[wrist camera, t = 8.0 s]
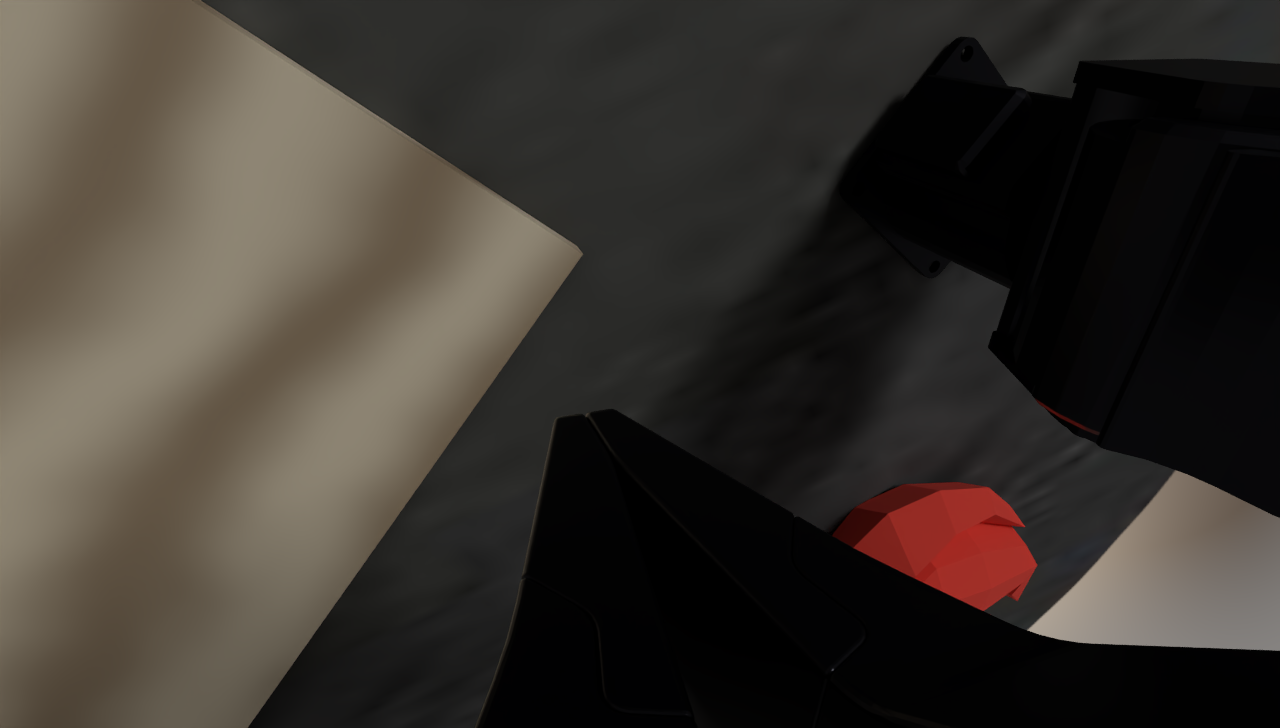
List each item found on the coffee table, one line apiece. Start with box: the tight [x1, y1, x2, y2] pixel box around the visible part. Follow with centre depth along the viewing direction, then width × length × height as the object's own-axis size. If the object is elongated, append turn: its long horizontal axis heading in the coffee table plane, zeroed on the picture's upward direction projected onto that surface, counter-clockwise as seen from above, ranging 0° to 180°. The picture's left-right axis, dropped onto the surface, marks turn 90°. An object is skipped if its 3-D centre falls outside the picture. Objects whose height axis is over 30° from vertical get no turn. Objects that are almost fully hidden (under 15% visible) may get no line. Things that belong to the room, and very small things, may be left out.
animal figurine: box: [832, 482, 1037, 611], centre depth 33 cm, size 12×15×5 cm
